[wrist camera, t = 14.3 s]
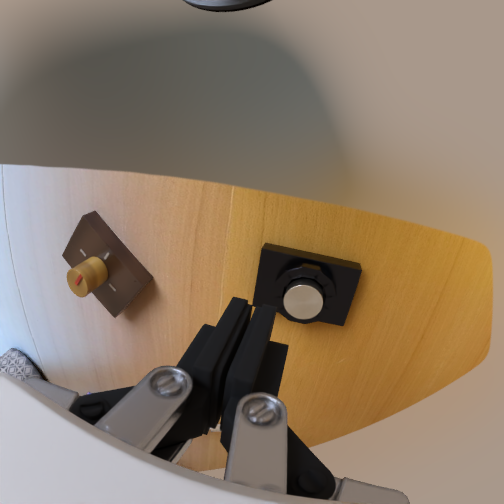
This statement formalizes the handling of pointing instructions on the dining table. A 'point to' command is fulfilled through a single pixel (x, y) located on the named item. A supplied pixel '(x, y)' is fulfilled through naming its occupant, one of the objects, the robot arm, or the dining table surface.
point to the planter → (18, 365)
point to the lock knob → (87, 276)
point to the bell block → (310, 267)
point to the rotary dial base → (107, 262)
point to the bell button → (303, 298)
